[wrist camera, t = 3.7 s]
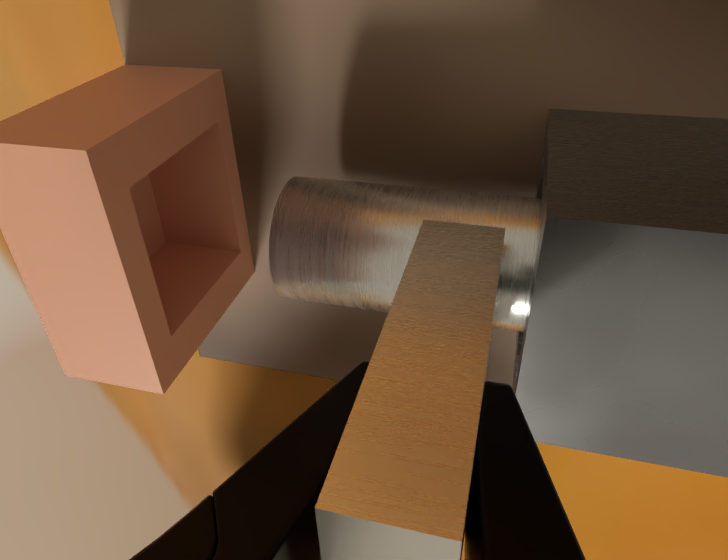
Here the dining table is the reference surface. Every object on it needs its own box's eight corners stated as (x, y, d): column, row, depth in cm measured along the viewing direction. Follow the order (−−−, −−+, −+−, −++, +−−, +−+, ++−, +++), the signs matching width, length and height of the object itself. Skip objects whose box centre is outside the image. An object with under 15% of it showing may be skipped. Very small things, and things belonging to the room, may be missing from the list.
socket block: (254, 272, 18) (163, 394, 14) (175, 261, 18) (65, 375, 14) (221, 69, 14) (85, 150, 10) (125, 64, 15) (-40, 139, 11)
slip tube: (881, 199, 11) (1443, 767, 4) (815, 322, 13) (1129, 870, 6) (308, 152, 14) (51, 446, 7) (317, 259, 15) (121, 583, 8)
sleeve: (795, 328, 14) (889, 507, 10) (520, 292, 16) (508, 436, 12) (898, 128, 11) (1085, 269, 7) (549, 108, 13) (547, 216, 9)
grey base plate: (724, 423, 17) (733, 449, 17) (212, 338, 21) (199, 356, 21) (1009, -162, 9) (1050, -166, 9) (105, -127, 13) (76, -127, 12)
